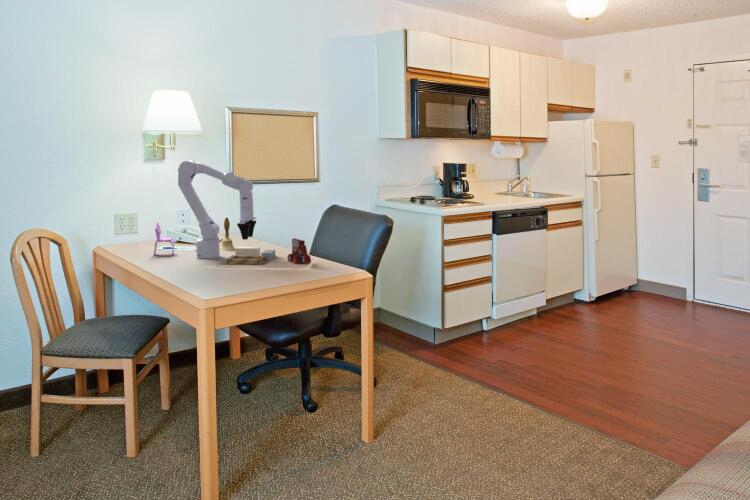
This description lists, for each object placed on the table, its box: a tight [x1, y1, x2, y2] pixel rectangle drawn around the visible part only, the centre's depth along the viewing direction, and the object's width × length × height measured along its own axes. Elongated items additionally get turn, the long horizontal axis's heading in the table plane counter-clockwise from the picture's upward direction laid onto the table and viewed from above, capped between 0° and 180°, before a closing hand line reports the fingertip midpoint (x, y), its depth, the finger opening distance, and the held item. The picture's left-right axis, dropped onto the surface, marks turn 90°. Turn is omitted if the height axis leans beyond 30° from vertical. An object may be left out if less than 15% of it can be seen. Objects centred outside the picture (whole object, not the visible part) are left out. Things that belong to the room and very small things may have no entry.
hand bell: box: [219, 217, 236, 252], centre depth 278 cm, size 8×8×16 cm
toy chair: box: [153, 221, 175, 257], centre depth 268 cm, size 8×9×15 cm
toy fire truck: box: [287, 238, 312, 265], centre depth 249 cm, size 7×12×10 cm, turn 32°
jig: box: [216, 254, 273, 266], centre depth 253 cm, size 20×22×3 cm
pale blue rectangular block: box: [260, 249, 276, 261], centre depth 257 cm, size 4×9×3 cm, turn 177°
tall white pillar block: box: [234, 246, 261, 256], centre depth 261 cm, size 10×4×4 cm, turn 87°
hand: (247, 238), depth 260 cm, fingers open, 7 cm apart
